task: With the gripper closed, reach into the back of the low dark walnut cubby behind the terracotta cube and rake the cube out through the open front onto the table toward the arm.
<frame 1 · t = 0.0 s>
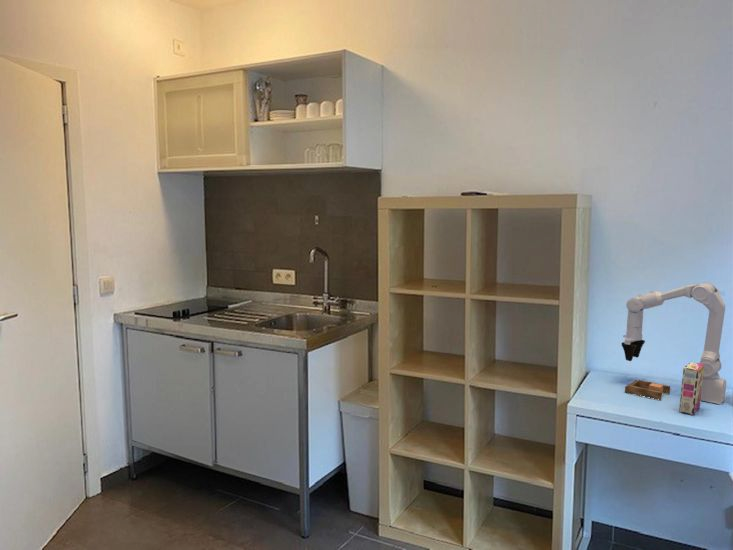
hand: (632, 358, 243), 10 cm above the table, tool pointing down, fingers open, 7 cm apart
cubby: (647, 393, 232), on the table
cube: (655, 395, 230), on the table
candy bar box: (689, 410, 214), on the table
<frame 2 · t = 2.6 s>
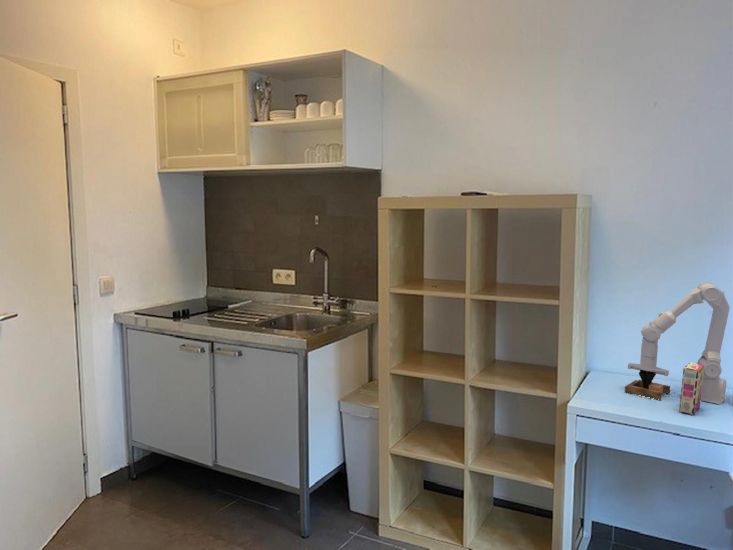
hand: (646, 389, 232), 1 cm above the table, tool pointing down, fingers closed
cube: (655, 395, 230), on the table, touching gripper
everything else where it was.
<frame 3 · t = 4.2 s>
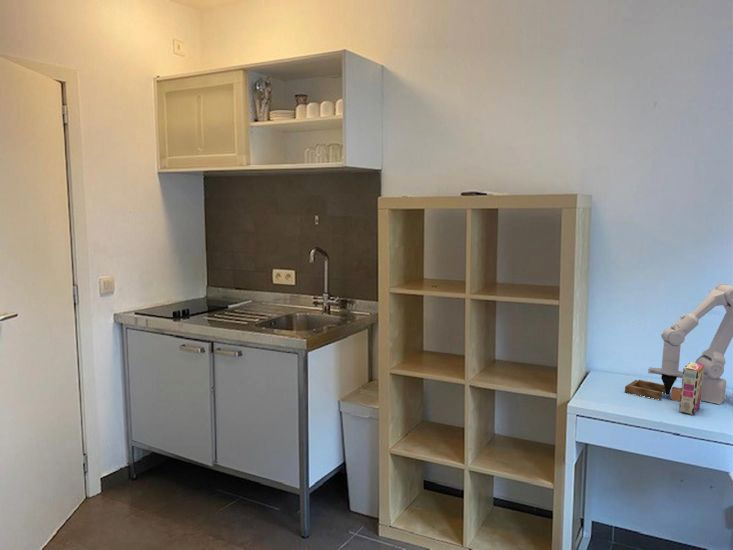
hand: (667, 394, 226), 1 cm above the table, tool pointing down, fingers closed
cube: (676, 399, 225), on the table, touching gripper
everything else where it was.
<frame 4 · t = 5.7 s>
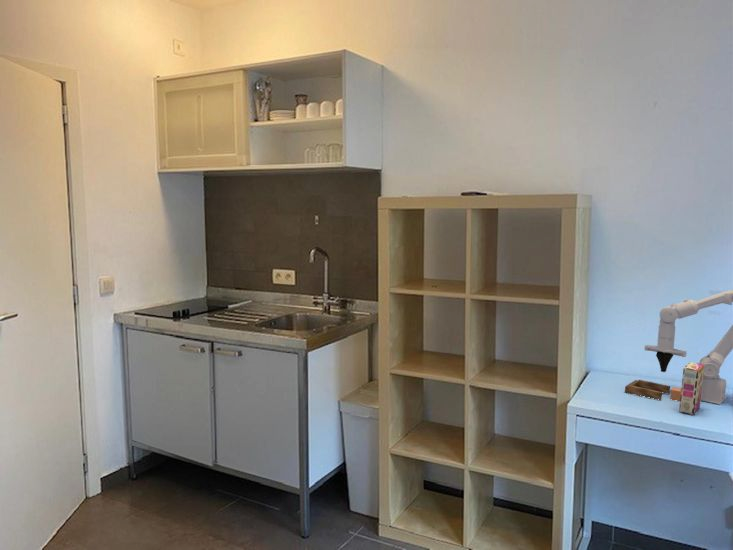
hand: (663, 371, 232), 8 cm above the table, tool pointing down, fingers closed
cube: (676, 399, 225), on the table
everything else where it was.
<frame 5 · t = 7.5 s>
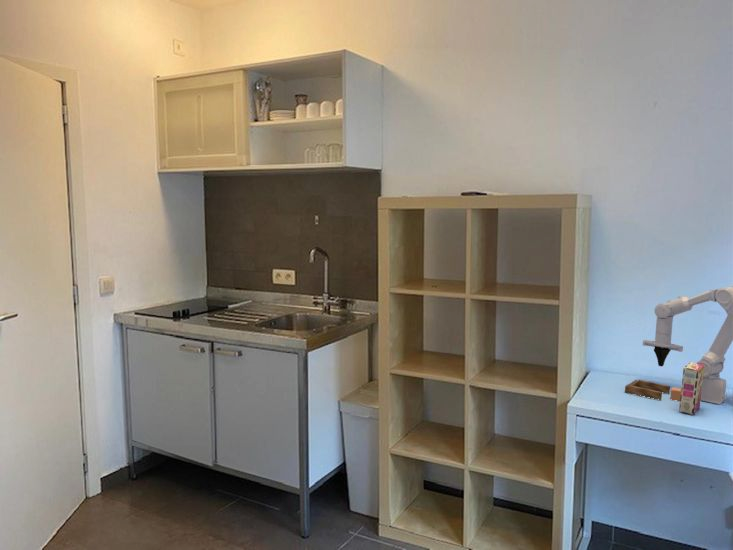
hand: (660, 365, 240), 8 cm above the table, tool pointing down, fingers closed
nothing on the table moved.
at the end: cube inside the target area (1.2 cm from its centre), on the table; cube tilted 0°; cube moved 7.6 cm from its start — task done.
